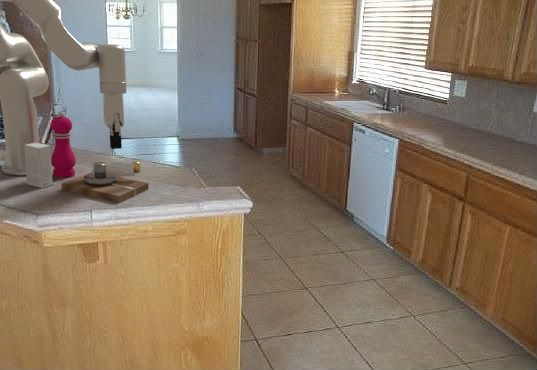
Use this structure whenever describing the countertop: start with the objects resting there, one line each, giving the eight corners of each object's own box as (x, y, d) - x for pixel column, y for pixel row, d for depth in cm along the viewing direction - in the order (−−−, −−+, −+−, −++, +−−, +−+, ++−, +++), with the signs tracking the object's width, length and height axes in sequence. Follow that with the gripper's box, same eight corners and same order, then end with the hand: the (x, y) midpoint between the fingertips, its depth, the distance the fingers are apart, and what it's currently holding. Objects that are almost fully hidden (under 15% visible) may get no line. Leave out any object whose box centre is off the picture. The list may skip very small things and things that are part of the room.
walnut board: (61, 189, 150) (61, 182, 149) (94, 177, 162) (93, 171, 161) (119, 202, 143) (119, 195, 142) (148, 189, 156) (148, 182, 155)
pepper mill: (68, 179, 158) (65, 114, 152) (46, 176, 160) (42, 112, 153) (80, 173, 165) (78, 111, 159) (60, 170, 166) (57, 108, 160)
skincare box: (53, 184, 153) (51, 145, 149) (41, 188, 149) (39, 148, 146) (38, 180, 155) (35, 141, 152) (26, 184, 152) (23, 144, 148)
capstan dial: (85, 186, 147) (84, 168, 145) (82, 177, 155) (81, 160, 153) (143, 183, 153) (143, 166, 152) (137, 174, 161) (137, 158, 159)
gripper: (97, 84, 158) (100, 143, 164) (103, 91, 145) (106, 154, 151) (122, 84, 161) (124, 142, 167) (130, 91, 148) (132, 153, 154)
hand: (116, 148), depth 159 cm, fingers closed
